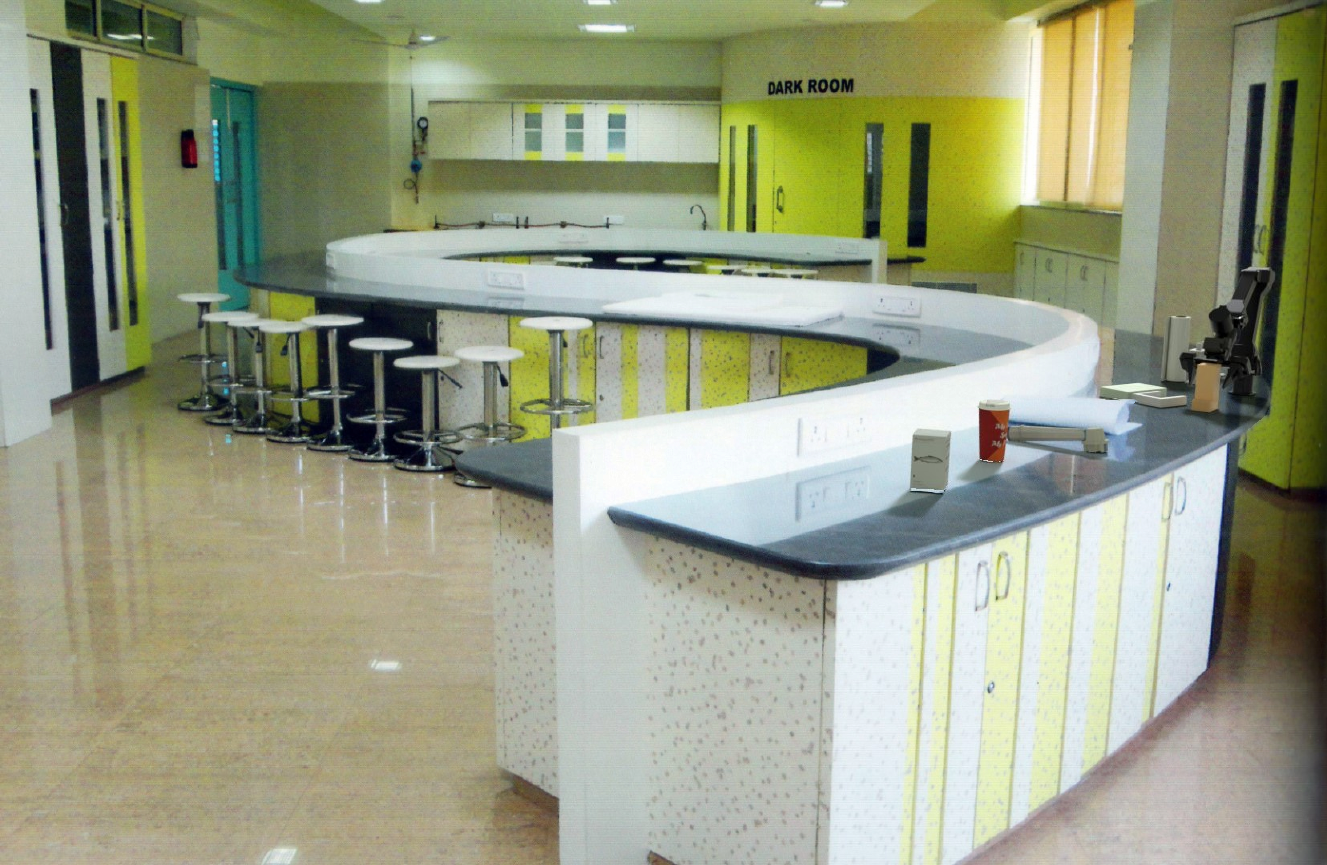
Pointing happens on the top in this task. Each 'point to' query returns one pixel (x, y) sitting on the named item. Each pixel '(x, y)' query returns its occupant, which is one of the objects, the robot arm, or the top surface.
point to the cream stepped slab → (1142, 394)
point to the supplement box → (930, 459)
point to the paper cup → (993, 429)
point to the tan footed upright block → (1207, 387)
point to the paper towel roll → (1175, 347)
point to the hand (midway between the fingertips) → (1206, 386)
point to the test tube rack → (1200, 354)
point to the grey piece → (1061, 436)
